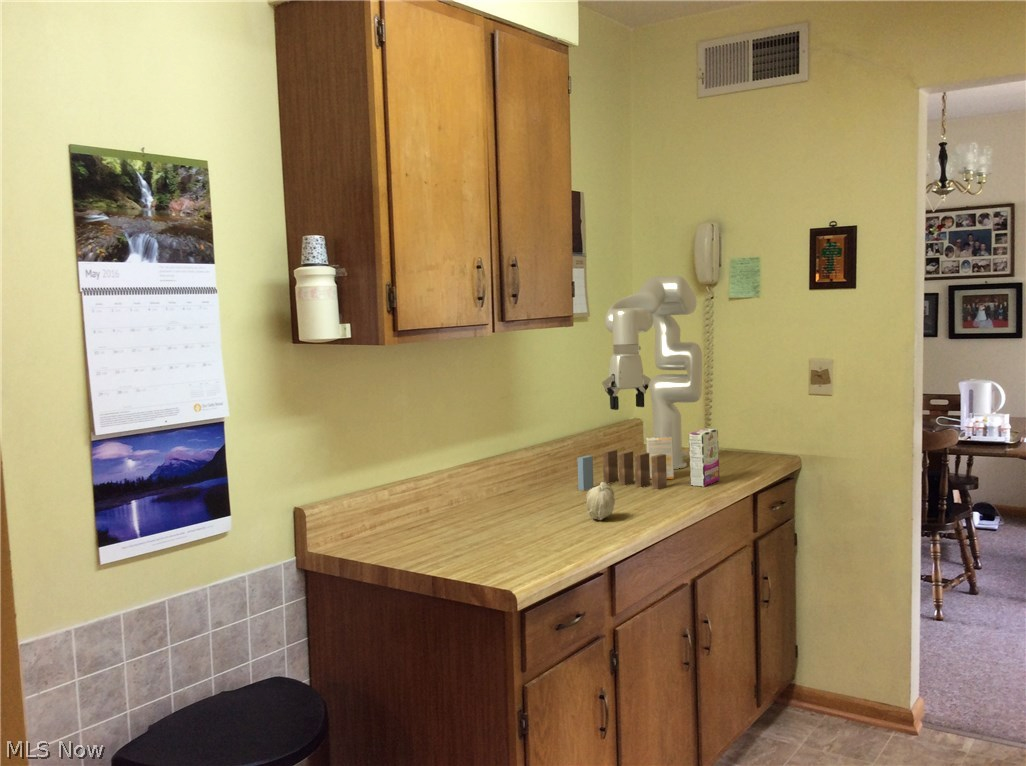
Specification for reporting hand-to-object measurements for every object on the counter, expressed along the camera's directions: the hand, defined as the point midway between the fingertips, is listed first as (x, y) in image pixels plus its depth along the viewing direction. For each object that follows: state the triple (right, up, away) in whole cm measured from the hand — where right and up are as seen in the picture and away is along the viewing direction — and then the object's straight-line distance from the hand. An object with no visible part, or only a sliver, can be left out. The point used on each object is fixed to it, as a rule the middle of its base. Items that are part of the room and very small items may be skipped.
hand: (627, 408), depth 265 cm
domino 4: (+6, -24, +9) cm, 27 cm away
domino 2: (-3, -24, +17) cm, 30 cm away
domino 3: (+1, -24, +13) cm, 27 cm away
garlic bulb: (-11, -28, -32) cm, 44 cm away
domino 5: (+10, -24, +5) cm, 27 cm away
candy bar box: (+25, -24, +10) cm, 36 cm away
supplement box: (+13, -23, +20) cm, 33 cm away
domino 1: (-12, -25, +8) cm, 29 cm away
